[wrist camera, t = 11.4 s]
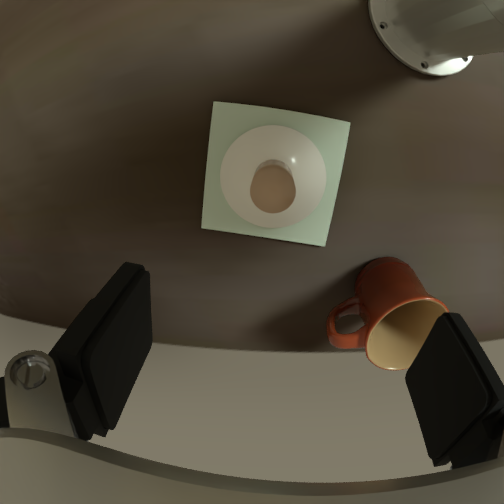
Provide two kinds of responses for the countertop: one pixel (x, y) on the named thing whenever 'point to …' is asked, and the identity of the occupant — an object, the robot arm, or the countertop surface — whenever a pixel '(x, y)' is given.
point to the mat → (248, 117)
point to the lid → (273, 176)
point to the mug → (387, 314)
